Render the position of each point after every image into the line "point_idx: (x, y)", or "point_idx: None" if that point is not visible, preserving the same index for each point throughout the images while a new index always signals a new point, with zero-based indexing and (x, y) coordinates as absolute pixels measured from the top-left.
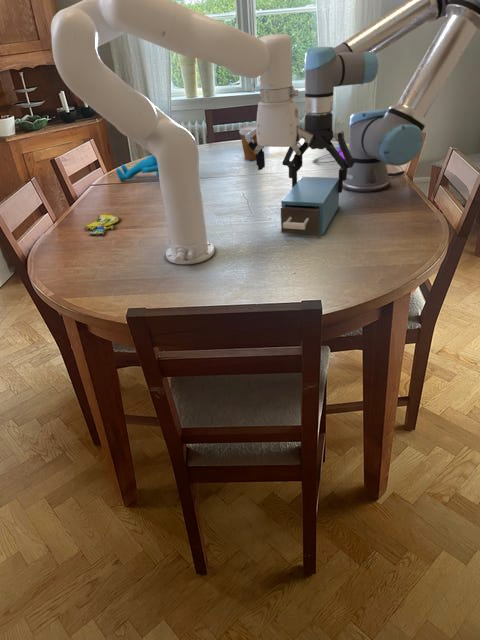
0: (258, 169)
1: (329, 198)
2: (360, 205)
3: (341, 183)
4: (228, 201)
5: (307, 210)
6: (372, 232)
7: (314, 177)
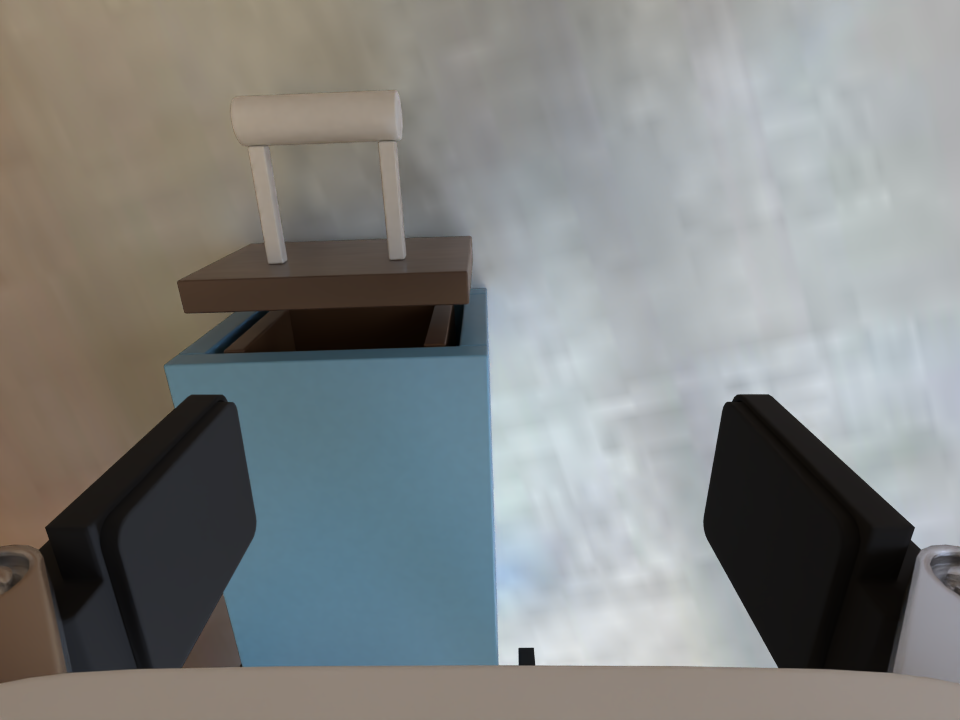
0: (763, 395)
1: None
2: (229, 655)
3: None
4: None
5: (259, 277)
6: (33, 381)
7: None
